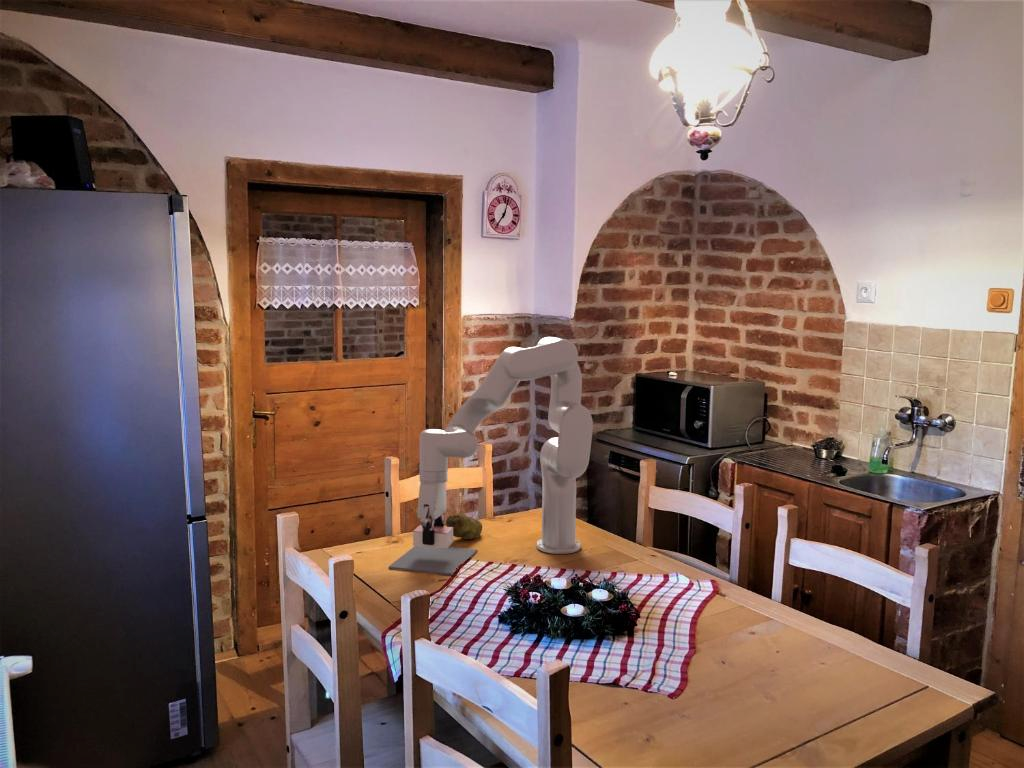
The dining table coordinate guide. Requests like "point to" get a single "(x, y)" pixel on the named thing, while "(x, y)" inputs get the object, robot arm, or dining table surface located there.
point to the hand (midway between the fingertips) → (433, 540)
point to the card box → (441, 537)
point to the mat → (433, 559)
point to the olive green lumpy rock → (464, 526)
